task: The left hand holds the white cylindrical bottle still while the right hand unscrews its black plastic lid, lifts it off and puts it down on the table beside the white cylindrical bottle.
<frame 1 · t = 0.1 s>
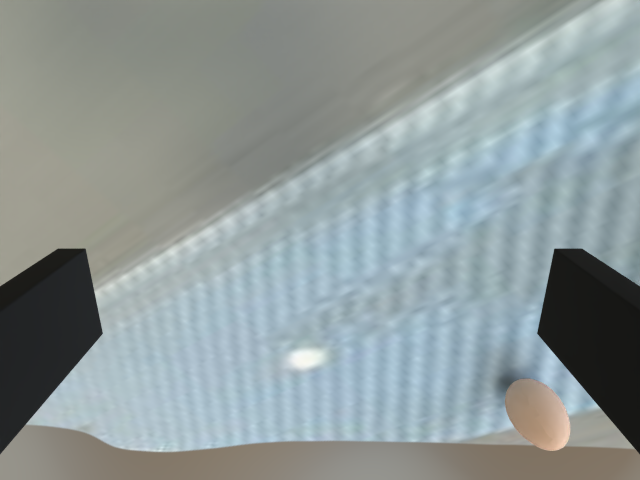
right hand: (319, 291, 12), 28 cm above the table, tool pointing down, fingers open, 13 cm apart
egg: (518, 384, 48), on the table
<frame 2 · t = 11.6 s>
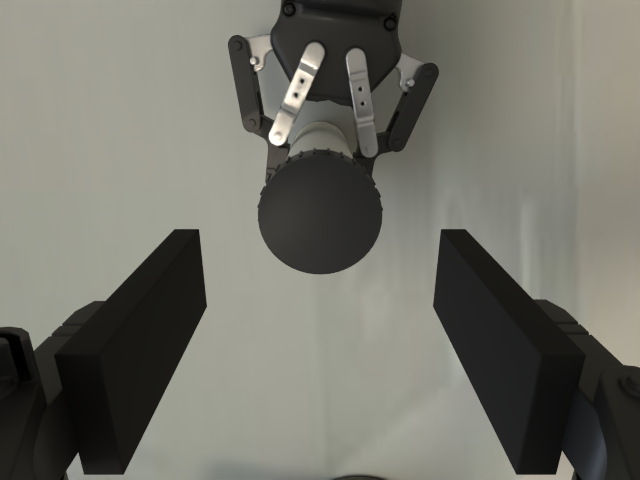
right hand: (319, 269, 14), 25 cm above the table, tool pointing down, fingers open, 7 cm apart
left hand: (315, 199, 32), fingers closed on white cylindrical bottle, 4 cm apart
white cylindrical bottle: (320, 149, 37), on the table, touching left hand
lid: (320, 215, 19), point 19 cm above the table, screwed on, not yet turned
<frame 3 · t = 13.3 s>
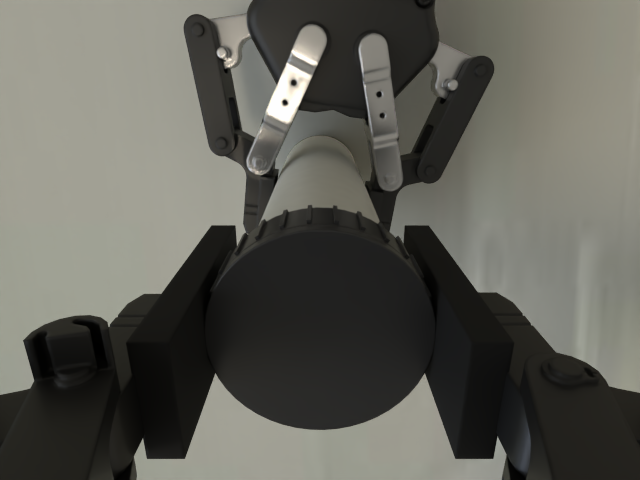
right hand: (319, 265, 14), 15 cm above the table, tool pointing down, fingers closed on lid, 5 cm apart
left hand: (314, 246, 23), fingers closed on white cylindrical bottle, 4 cm apart
white cylindrical bottle: (320, 171, 28), on the table, touching left hand
lid: (320, 331, 10), point 19 cm above the table, screwed on, not yet turned, touching right hand
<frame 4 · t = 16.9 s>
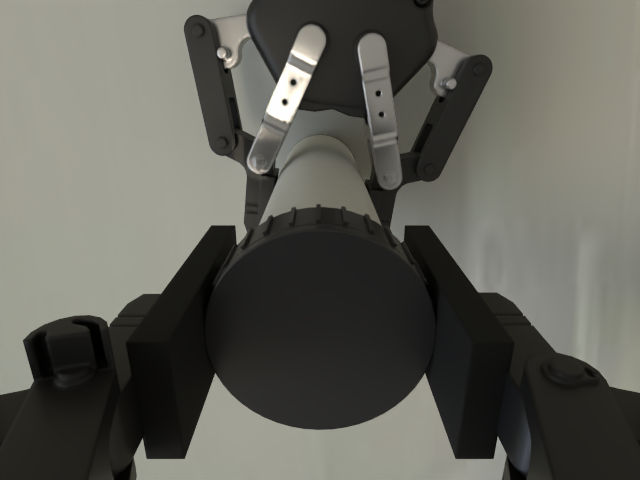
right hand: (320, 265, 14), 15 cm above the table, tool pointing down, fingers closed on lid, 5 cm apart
left hand: (314, 244, 23), fingers closed on white cylindrical bottle, 4 cm apart
white cylindrical bottle: (320, 171, 28), on the table, touching left hand
lid: (320, 331, 10), point 19 cm above the table, turned 124° so far, risen 0.2 cm, still on its thread, touching right hand
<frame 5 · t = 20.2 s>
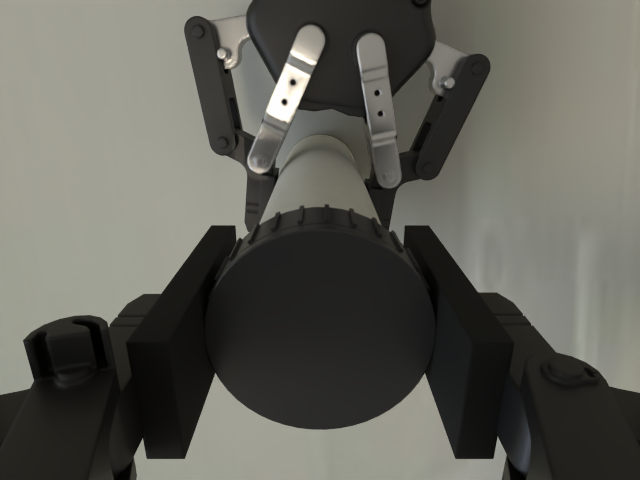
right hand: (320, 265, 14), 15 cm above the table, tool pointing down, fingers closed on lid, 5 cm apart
left hand: (314, 243, 23), fingers closed on white cylindrical bottle, 4 cm apart
white cylindrical bottle: (320, 170, 29), on the table, touching left hand
lid: (320, 331, 10), point 19 cm above the table, turned 248° so far, risen 0.3 cm, still on its thread, touching right hand
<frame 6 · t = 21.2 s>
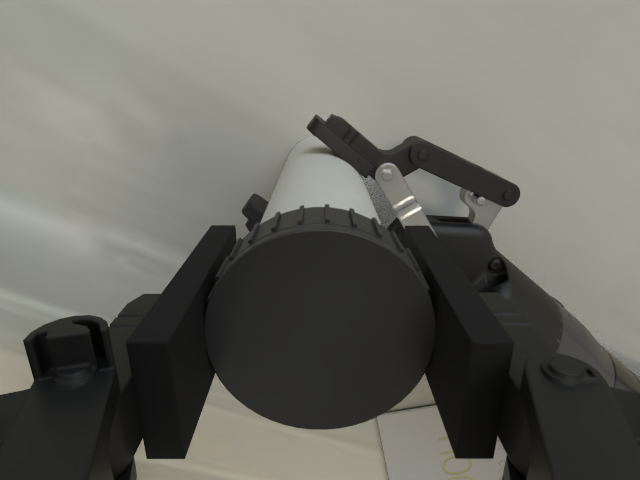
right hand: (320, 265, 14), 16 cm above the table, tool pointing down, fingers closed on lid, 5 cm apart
left hand: (279, 164, 22), fingers closed on white cylindrical bottle, 4 cm apart
white cylindrical bottle: (320, 170, 29), on the table, touching left hand
lid: (320, 331, 10), point 20 cm above the table, off its thread, touching right hand
when the right hand's fingers open (0 cm above the table, at t = 28.2 s): lid drops 2 cm, point 1 cm above the table.
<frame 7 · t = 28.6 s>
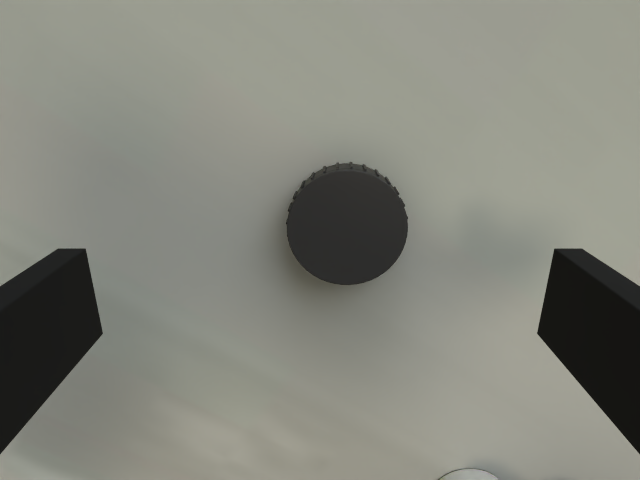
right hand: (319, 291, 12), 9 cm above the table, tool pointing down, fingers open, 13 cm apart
lid: (346, 227, 20), point 1 cm above the table, off its thread
when the left hand's fingers open (7 cm above the table, at t = 28.8 s): white cylindrical bottle stays where it is, on the table.
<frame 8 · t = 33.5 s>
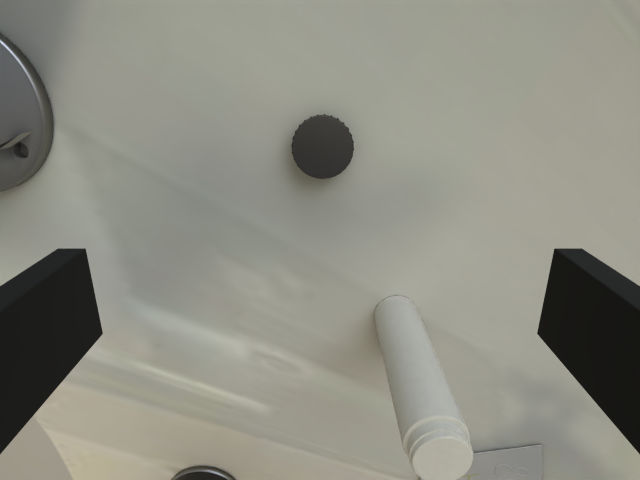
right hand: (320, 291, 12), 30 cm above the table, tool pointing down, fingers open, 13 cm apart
white cylindrical bottle: (395, 314, 46), on the table
lid: (322, 147, 39), point 1 cm above the table, off its thread
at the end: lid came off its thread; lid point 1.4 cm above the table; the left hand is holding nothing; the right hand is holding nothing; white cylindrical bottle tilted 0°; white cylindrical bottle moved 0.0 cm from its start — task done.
